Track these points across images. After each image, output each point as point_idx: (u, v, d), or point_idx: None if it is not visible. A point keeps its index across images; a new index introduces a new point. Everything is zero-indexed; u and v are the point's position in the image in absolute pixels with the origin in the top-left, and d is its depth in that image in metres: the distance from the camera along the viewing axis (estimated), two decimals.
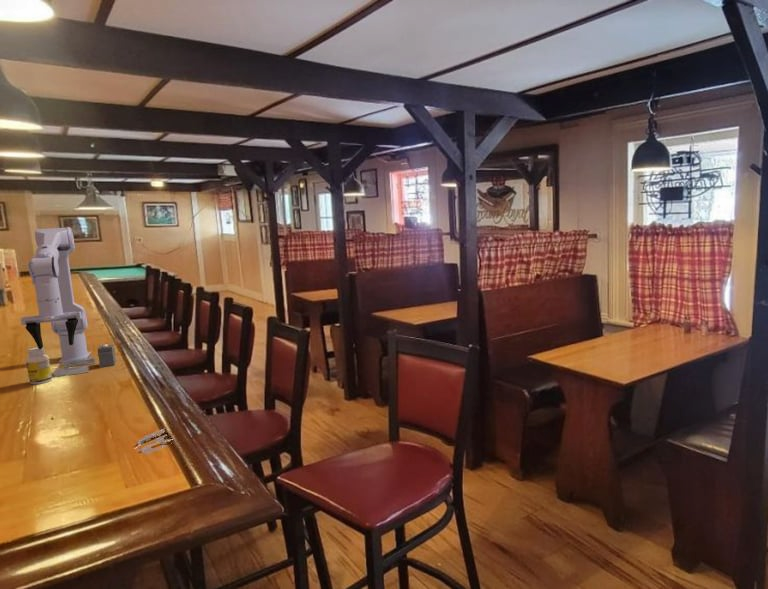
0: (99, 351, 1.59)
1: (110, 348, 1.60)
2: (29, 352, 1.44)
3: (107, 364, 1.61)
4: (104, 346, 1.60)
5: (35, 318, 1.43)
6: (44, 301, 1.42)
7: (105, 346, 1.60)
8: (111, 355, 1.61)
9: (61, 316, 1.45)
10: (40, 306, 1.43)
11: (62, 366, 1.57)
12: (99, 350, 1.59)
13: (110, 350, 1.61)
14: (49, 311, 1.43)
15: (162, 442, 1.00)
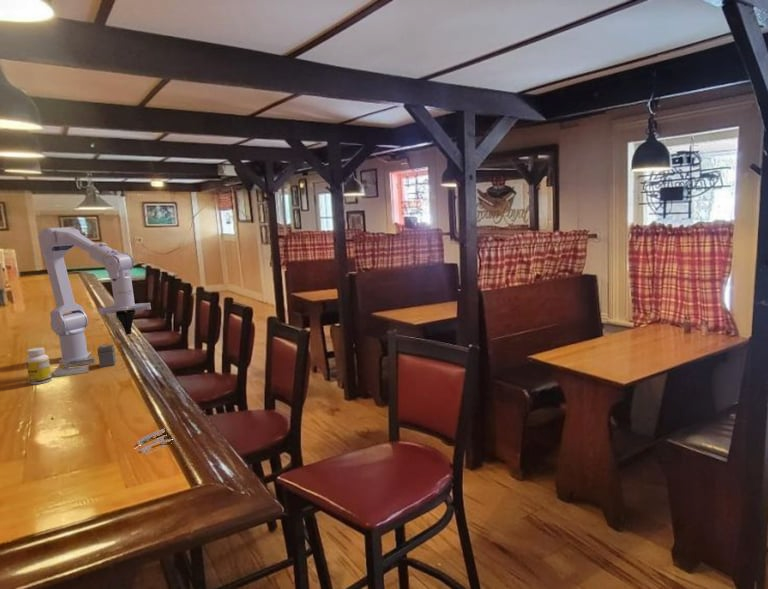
0: (99, 351, 1.59)
1: (110, 348, 1.60)
2: (29, 352, 1.44)
3: (107, 364, 1.61)
4: (104, 346, 1.60)
5: (112, 308, 1.59)
6: (120, 293, 1.59)
7: (105, 346, 1.60)
8: (111, 355, 1.61)
9: (134, 306, 1.61)
10: (116, 297, 1.59)
11: (62, 366, 1.57)
12: (99, 350, 1.59)
13: (110, 350, 1.61)
14: (124, 302, 1.60)
15: (162, 442, 1.00)
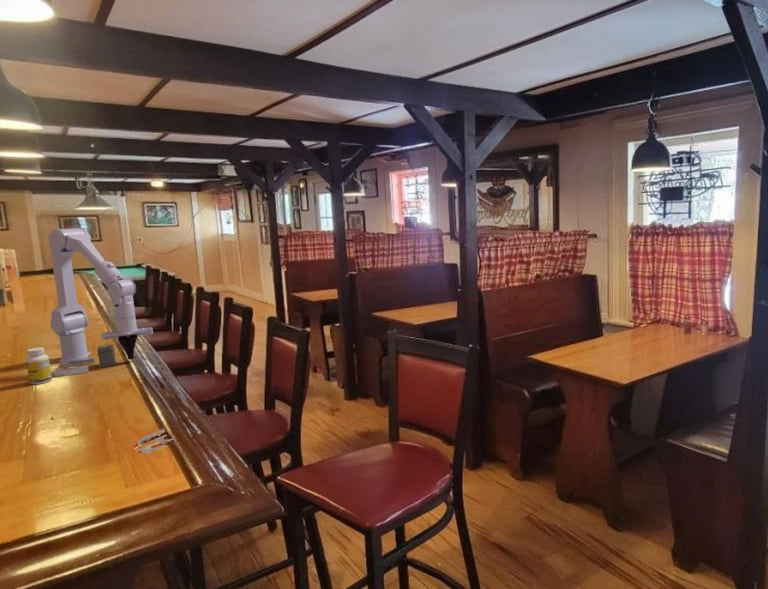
0: (99, 351, 1.59)
1: (110, 348, 1.60)
2: (29, 352, 1.44)
3: (107, 364, 1.61)
4: (104, 346, 1.60)
5: (114, 334, 1.60)
6: (122, 319, 1.60)
7: (105, 346, 1.60)
8: (111, 355, 1.61)
9: (136, 332, 1.62)
10: (118, 323, 1.60)
11: (62, 366, 1.57)
12: (99, 350, 1.59)
13: (110, 350, 1.61)
14: (127, 327, 1.61)
15: (162, 442, 1.00)
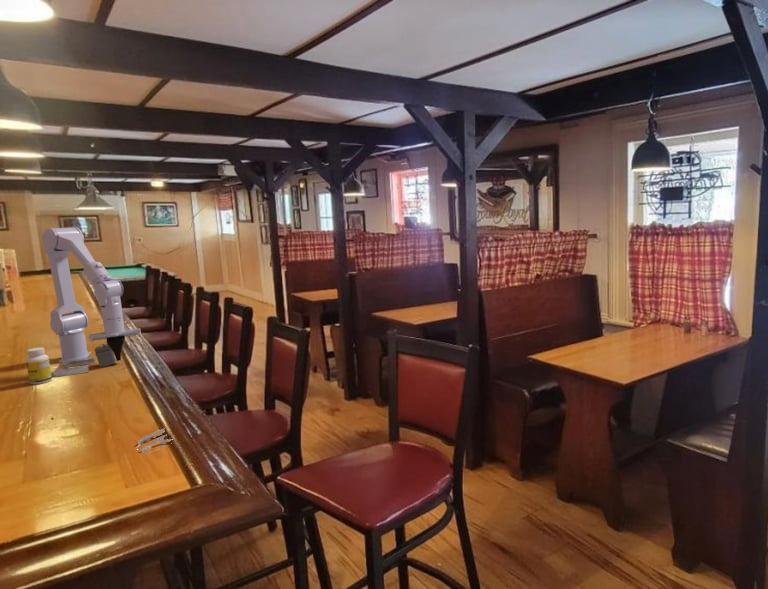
0: (97, 351, 1.59)
1: (107, 347, 1.60)
2: (29, 352, 1.44)
3: (107, 363, 1.61)
4: (101, 346, 1.60)
5: (101, 335, 1.59)
6: (110, 320, 1.59)
7: (102, 346, 1.60)
8: (109, 354, 1.61)
9: (124, 333, 1.61)
10: (106, 324, 1.59)
11: (62, 366, 1.57)
12: (96, 350, 1.59)
13: (107, 349, 1.60)
14: (114, 328, 1.59)
15: (162, 442, 1.00)
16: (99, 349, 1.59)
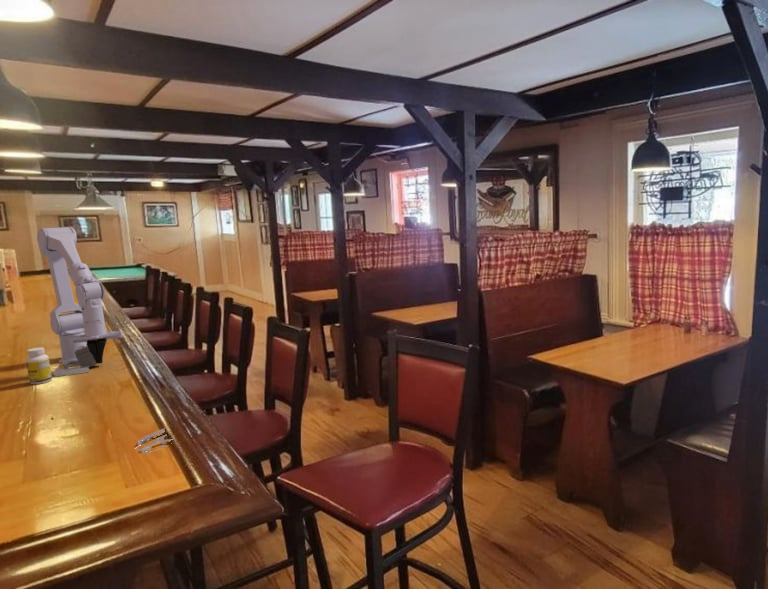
0: (77, 354, 1.57)
1: (87, 348, 1.58)
2: (29, 352, 1.44)
3: (89, 364, 1.59)
4: (80, 348, 1.58)
5: (82, 337, 1.57)
6: (90, 322, 1.57)
7: (81, 348, 1.58)
8: (90, 355, 1.59)
9: (105, 335, 1.59)
10: (86, 327, 1.57)
11: (62, 366, 1.57)
12: (76, 353, 1.57)
13: (87, 350, 1.58)
14: (95, 331, 1.58)
15: (162, 442, 1.00)
16: (79, 351, 1.57)
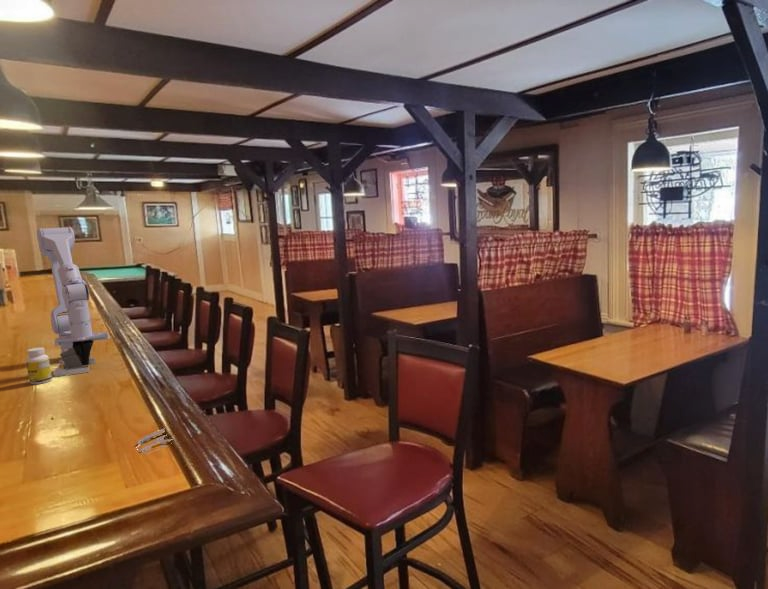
0: (62, 356, 1.56)
1: (72, 350, 1.57)
2: (29, 352, 1.44)
3: (75, 366, 1.58)
4: (66, 350, 1.56)
5: (68, 339, 1.56)
6: (76, 324, 1.56)
7: (67, 350, 1.56)
8: (76, 357, 1.57)
9: (91, 337, 1.58)
10: (72, 328, 1.56)
11: (62, 366, 1.57)
12: (62, 355, 1.56)
13: (73, 352, 1.57)
14: (81, 333, 1.56)
15: (162, 442, 1.00)
16: (65, 353, 1.56)
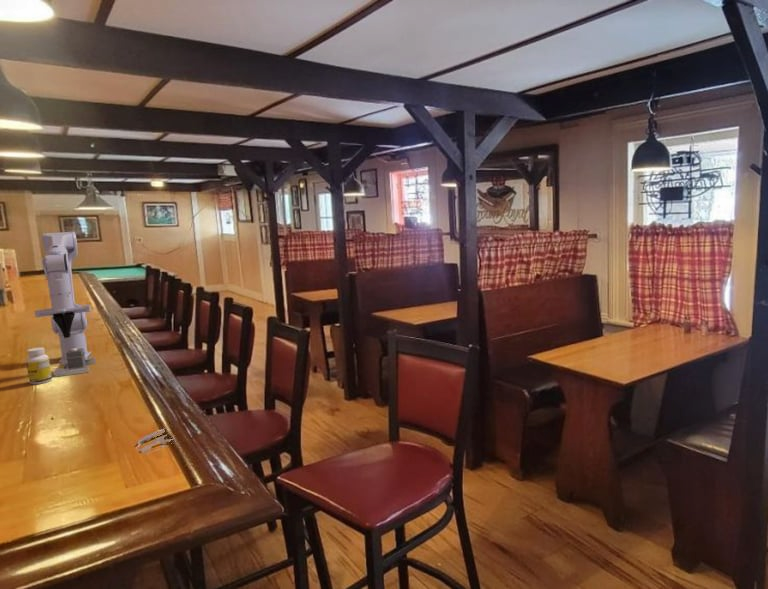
0: (68, 355, 1.56)
1: (79, 352, 1.57)
2: (29, 352, 1.44)
3: None
4: (73, 350, 1.57)
5: (48, 311, 1.54)
6: (57, 295, 1.54)
7: (74, 350, 1.57)
8: (80, 359, 1.58)
9: (72, 309, 1.56)
10: (53, 300, 1.54)
11: (62, 366, 1.57)
12: (68, 354, 1.56)
13: (79, 354, 1.58)
14: (61, 304, 1.55)
15: (162, 442, 1.00)
16: (71, 353, 1.57)
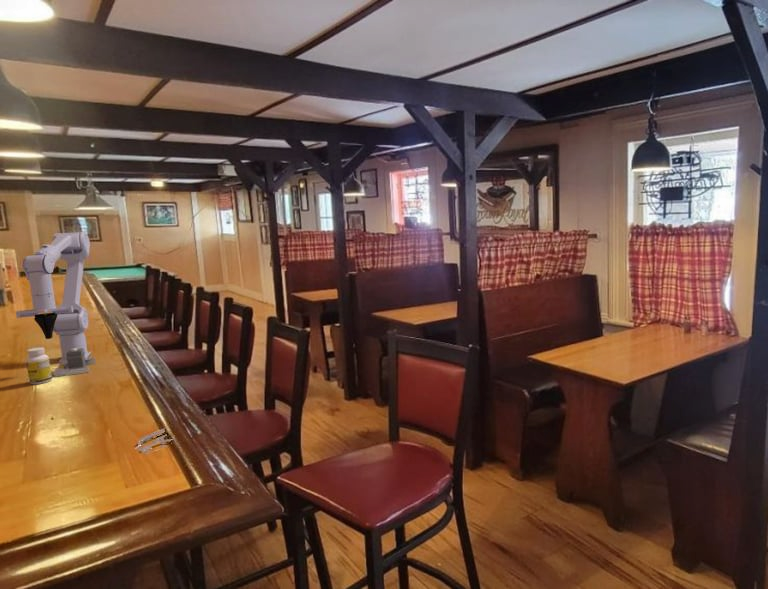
0: (68, 355, 1.56)
1: (79, 352, 1.57)
2: (29, 352, 1.44)
3: None
4: (73, 350, 1.57)
5: (29, 311, 1.53)
6: (38, 295, 1.53)
7: (74, 350, 1.57)
8: (80, 359, 1.58)
9: (54, 310, 1.55)
10: (34, 300, 1.53)
11: (62, 366, 1.57)
12: (68, 354, 1.56)
13: (79, 354, 1.58)
14: (43, 305, 1.53)
15: (162, 442, 1.00)
16: (71, 353, 1.57)
